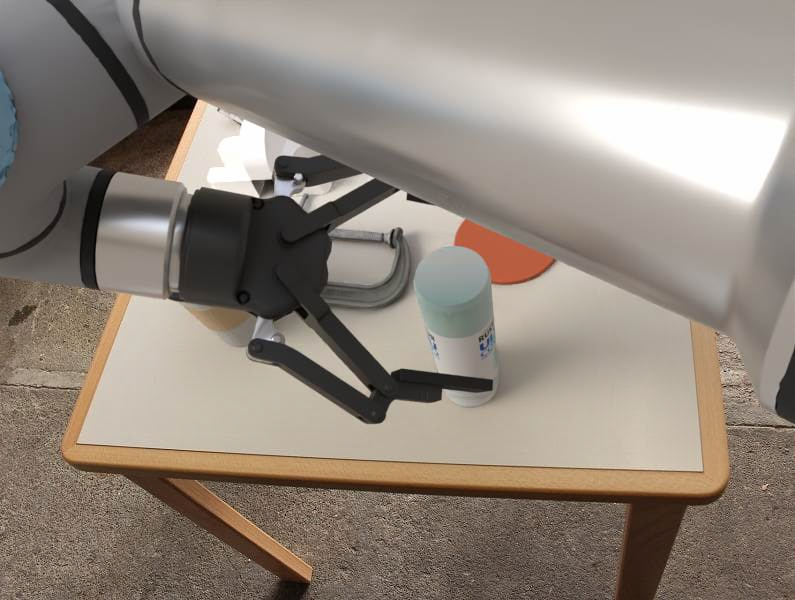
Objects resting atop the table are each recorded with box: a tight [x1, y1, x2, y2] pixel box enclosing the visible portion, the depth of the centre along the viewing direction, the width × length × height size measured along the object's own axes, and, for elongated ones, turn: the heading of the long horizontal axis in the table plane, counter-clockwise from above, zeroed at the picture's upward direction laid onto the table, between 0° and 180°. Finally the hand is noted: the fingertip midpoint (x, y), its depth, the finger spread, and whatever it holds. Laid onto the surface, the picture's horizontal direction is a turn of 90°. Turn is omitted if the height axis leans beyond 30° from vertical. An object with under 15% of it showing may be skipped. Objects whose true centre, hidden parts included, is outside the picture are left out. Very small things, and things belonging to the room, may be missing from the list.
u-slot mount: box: [206, 120, 334, 198], centre depth 88 cm, size 18×10×10 cm, turn 84°
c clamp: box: [298, 193, 412, 309], centre depth 80 cm, size 20×17×3 cm
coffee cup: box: [167, 292, 257, 348], centre depth 71 cm, size 9×9×15 cm
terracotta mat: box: [454, 218, 556, 286], centre depth 77 cm, size 13×13×1 cm
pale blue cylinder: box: [413, 245, 500, 408], centre depth 59 cm, size 6×6×20 cm
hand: (490, 292), depth 44 cm, fingers open, 13 cm apart
